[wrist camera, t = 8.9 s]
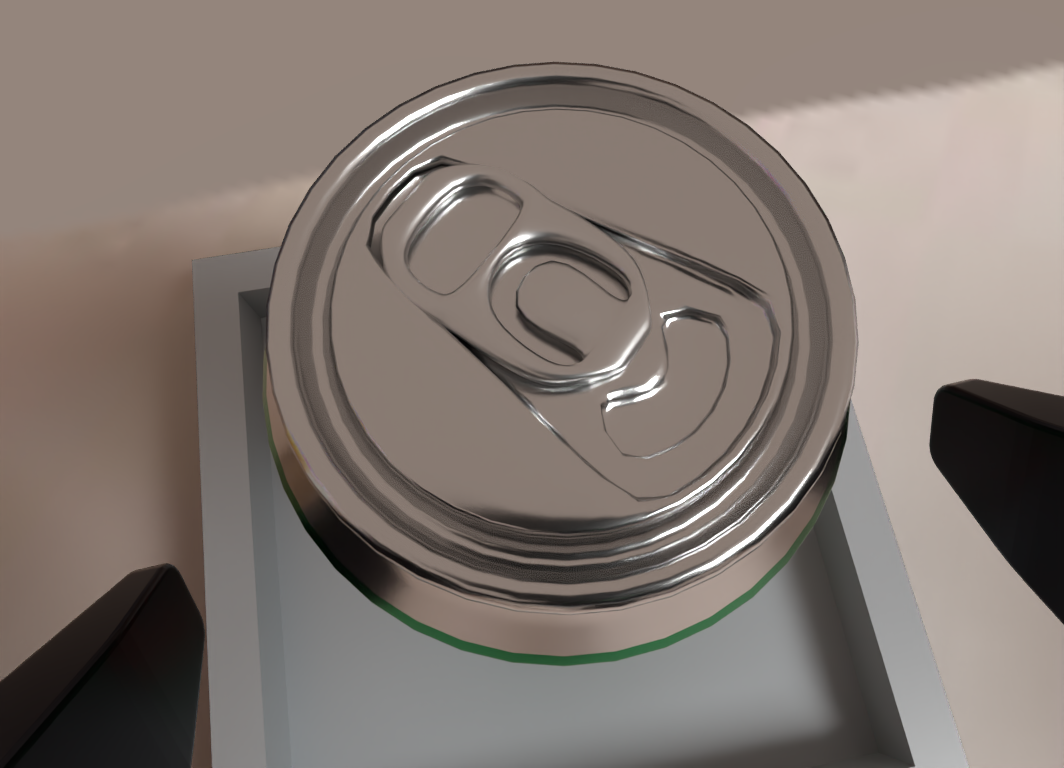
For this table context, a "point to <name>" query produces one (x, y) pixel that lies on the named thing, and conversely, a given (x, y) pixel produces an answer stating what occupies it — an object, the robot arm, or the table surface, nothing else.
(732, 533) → the soda can
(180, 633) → the robot arm
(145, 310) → the table surface
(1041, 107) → the table surface
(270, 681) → the grey tray
